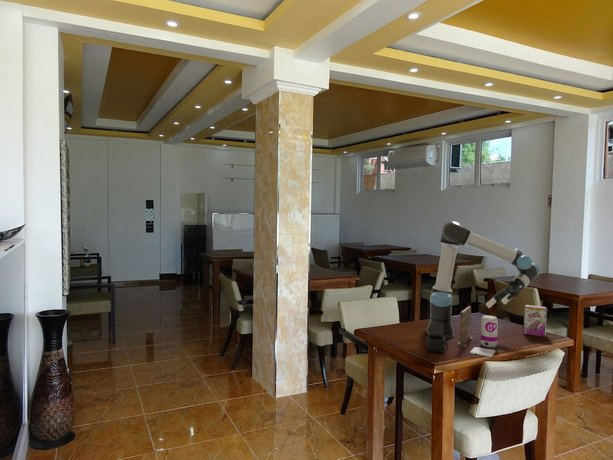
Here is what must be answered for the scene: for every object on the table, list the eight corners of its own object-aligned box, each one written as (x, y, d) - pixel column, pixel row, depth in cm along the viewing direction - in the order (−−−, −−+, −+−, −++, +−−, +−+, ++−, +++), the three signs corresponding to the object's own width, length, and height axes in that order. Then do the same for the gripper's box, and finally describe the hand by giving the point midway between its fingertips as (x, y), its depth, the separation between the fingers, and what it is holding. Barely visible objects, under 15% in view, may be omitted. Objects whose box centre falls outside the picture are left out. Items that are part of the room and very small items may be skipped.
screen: (457, 346, 233) (457, 311, 233) (465, 338, 248) (466, 305, 248) (465, 347, 231) (465, 312, 230) (472, 339, 246) (473, 306, 246)
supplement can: (498, 348, 230) (499, 319, 230) (481, 347, 232) (482, 318, 231) (495, 343, 238) (496, 315, 238) (479, 342, 240) (479, 314, 239)
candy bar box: (523, 334, 257) (523, 306, 256) (524, 332, 261) (525, 304, 260) (545, 337, 251) (546, 308, 250) (546, 335, 255) (546, 306, 254)
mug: (422, 350, 226) (422, 336, 226) (434, 347, 231) (435, 333, 231) (441, 356, 216) (441, 342, 216) (453, 353, 221) (454, 339, 221)
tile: (470, 353, 221) (470, 351, 221) (474, 348, 230) (474, 346, 230) (491, 357, 216) (491, 355, 216) (495, 351, 224) (495, 350, 224)
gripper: (539, 284, 239) (514, 306, 231) (508, 292, 262) (485, 313, 254) (530, 272, 240) (505, 294, 232) (500, 281, 263) (477, 302, 255)
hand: (494, 304), depth 243 cm, fingers open, 13 cm apart
